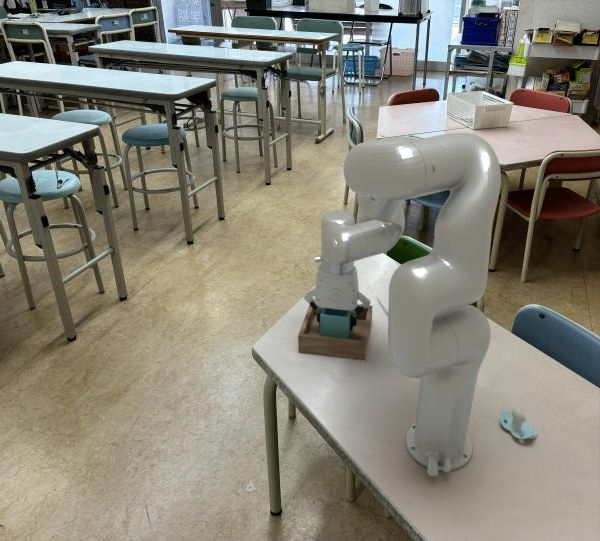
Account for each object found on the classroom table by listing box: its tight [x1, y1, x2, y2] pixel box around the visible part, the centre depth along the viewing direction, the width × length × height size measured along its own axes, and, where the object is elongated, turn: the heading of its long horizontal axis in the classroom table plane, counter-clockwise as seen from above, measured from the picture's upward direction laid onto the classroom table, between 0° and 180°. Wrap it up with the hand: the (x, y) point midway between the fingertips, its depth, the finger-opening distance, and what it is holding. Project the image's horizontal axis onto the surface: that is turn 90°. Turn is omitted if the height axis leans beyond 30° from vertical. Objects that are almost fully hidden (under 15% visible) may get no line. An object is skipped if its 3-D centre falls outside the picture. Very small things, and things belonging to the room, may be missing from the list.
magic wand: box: [376, 297, 389, 317], centre depth 146 cm, size 2×25×2 cm
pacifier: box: [499, 407, 538, 440], centre depth 108 cm, size 7×6×6 cm
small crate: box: [320, 308, 351, 339], centre depth 135 cm, size 7×7×6 cm
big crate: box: [297, 303, 374, 361], centre depth 136 cm, size 16×16×5 cm
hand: (336, 325), depth 136 cm, fingers closed on small crate, 7 cm apart
